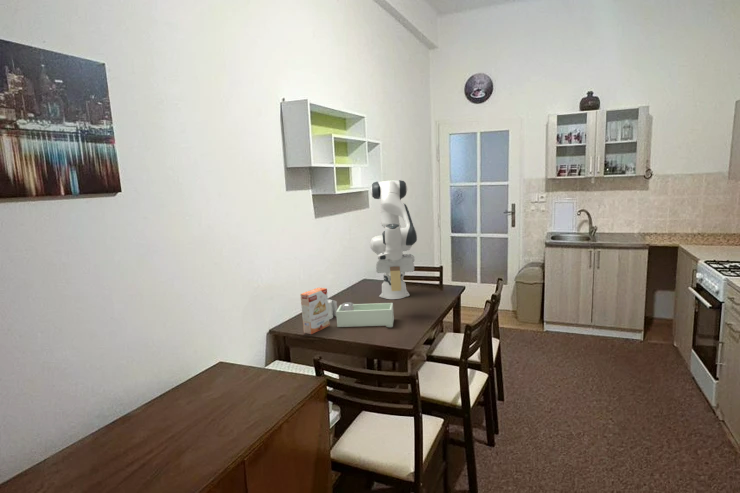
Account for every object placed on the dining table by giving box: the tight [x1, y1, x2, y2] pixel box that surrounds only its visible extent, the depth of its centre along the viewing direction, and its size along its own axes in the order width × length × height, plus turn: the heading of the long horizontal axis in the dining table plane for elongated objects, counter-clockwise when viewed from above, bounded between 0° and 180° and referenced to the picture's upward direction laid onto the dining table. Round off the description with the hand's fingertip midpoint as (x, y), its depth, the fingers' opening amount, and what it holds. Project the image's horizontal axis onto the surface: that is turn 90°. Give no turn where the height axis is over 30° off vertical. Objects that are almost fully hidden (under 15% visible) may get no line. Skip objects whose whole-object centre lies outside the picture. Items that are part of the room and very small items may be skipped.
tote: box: [335, 302, 395, 328], centre depth 227 cm, size 12×28×9 cm, turn 84°
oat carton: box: [390, 266, 401, 291], centre depth 235 cm, size 5×5×13 cm
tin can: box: [341, 302, 354, 311], centre depth 228 cm, size 6×6×10 cm
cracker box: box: [300, 287, 330, 335], centre depth 221 cm, size 14×6×21 cm, turn 145°
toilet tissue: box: [328, 299, 338, 321], centre depth 240 cm, size 11×12×10 cm
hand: (395, 280), depth 235 cm, fingers closed on oat carton, 5 cm apart
